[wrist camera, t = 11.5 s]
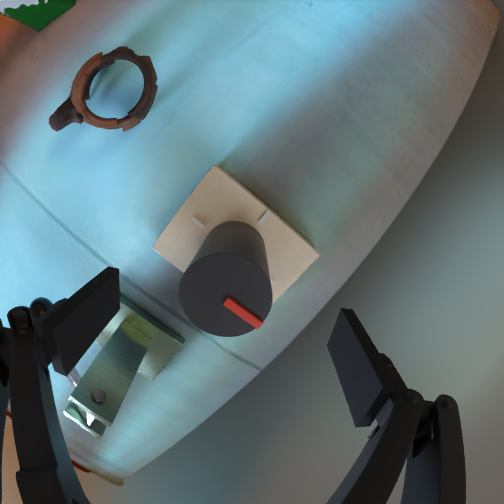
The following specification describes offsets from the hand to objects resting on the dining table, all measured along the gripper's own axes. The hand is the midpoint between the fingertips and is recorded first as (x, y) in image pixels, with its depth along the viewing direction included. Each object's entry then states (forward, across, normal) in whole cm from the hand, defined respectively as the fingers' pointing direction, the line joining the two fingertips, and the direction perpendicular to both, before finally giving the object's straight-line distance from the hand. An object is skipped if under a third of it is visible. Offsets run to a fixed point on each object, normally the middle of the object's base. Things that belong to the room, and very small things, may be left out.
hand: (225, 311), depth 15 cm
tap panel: (+14, 0, 0) cm, 14 cm away
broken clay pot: (+14, -16, +14) cm, 25 cm away
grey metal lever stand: (+14, -12, -15) cm, 23 cm away
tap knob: (+11, 0, 0) cm, 11 cm away
